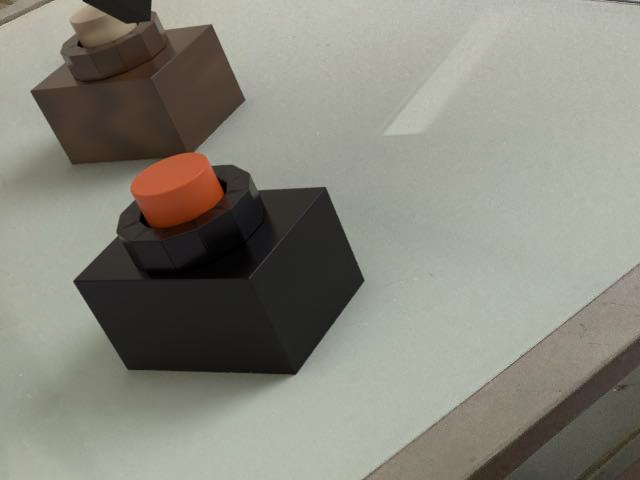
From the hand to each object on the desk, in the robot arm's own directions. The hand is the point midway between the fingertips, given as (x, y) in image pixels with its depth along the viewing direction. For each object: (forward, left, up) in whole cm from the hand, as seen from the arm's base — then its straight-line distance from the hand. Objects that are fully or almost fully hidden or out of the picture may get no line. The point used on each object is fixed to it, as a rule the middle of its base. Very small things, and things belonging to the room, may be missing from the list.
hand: (117, 10), depth 53 cm
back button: (-21, +21, -9) cm, 31 cm away
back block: (-21, +21, -16) cm, 34 cm away
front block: (+1, -2, -16) cm, 16 cm away
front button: (+1, -2, -9) cm, 9 cm away
